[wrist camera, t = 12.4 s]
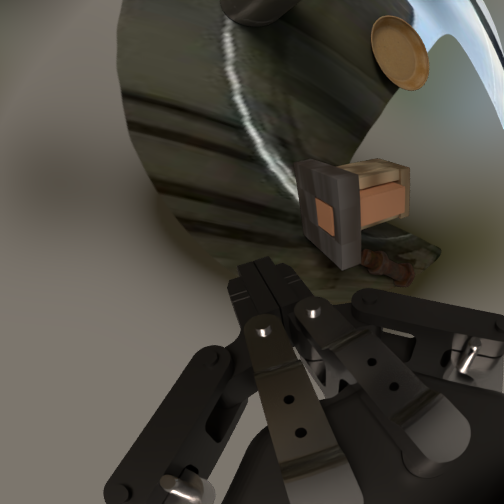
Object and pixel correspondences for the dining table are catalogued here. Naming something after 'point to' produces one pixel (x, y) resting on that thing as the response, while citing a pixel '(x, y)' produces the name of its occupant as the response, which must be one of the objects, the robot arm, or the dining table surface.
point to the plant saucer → (400, 52)
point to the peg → (368, 205)
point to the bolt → (387, 267)
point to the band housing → (343, 202)
